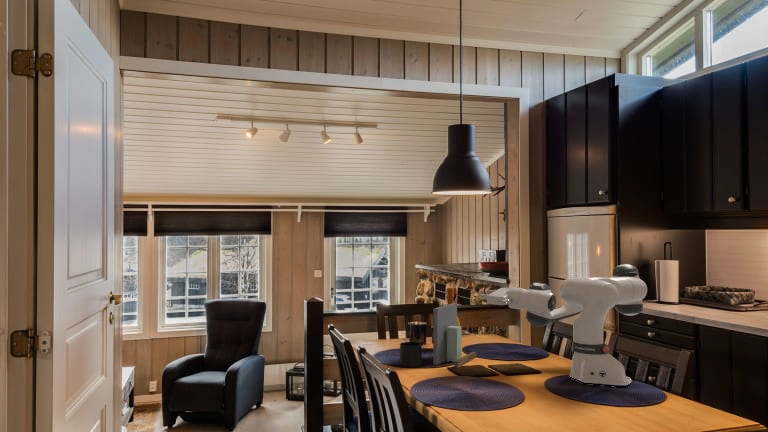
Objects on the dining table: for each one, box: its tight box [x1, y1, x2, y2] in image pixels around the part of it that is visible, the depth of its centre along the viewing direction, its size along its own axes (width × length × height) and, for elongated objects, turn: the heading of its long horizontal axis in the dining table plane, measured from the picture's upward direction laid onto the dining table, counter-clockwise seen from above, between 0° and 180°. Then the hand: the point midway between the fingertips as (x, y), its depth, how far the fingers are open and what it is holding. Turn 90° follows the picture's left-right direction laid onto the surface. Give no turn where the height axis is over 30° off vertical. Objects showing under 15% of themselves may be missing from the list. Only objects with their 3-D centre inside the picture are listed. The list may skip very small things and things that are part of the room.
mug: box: [399, 341, 423, 368], centre depth 230 cm, size 9×12×9 cm
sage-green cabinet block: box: [446, 325, 462, 363], centre depth 237 cm, size 5×5×15 cm
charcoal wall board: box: [432, 302, 477, 368], centre depth 237 cm, size 12×22×24 cm, turn 150°
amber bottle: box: [446, 287, 461, 327], centre depth 262 cm, size 10×10×30 cm
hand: (483, 293), depth 230 cm, fingers open, 8 cm apart
